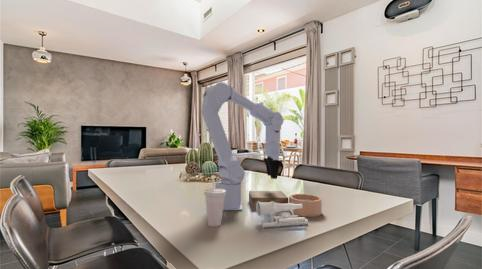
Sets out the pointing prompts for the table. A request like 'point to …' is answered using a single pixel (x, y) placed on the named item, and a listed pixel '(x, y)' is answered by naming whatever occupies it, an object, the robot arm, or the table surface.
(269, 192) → the board
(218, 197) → the smoothie
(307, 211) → the bowl
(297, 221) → the white joined tubes piece
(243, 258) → the table surface
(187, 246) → the table surface
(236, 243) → the table surface
